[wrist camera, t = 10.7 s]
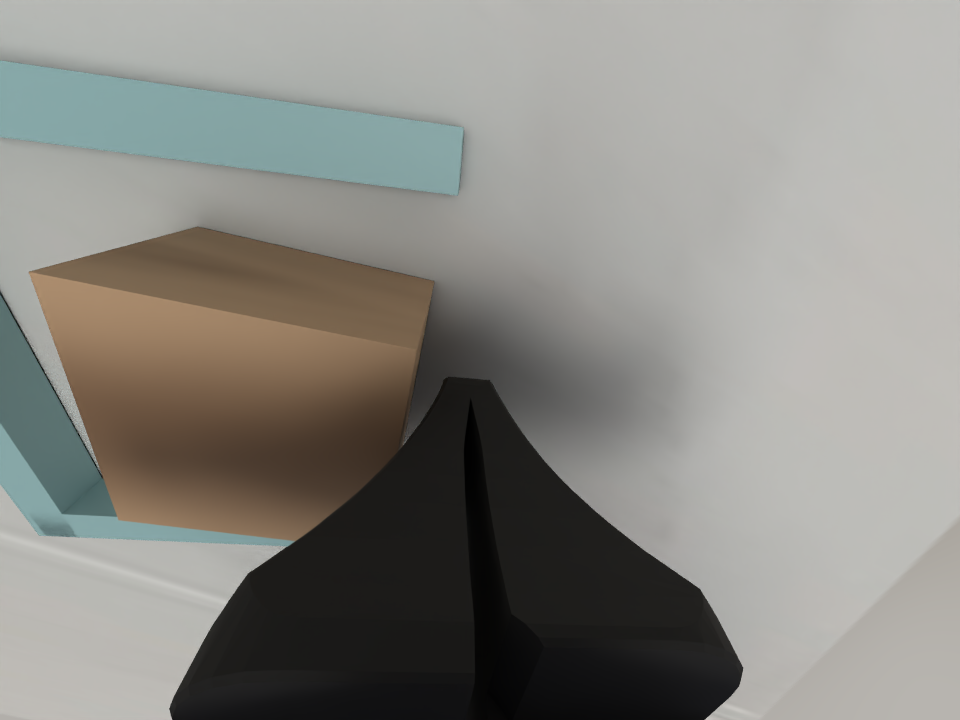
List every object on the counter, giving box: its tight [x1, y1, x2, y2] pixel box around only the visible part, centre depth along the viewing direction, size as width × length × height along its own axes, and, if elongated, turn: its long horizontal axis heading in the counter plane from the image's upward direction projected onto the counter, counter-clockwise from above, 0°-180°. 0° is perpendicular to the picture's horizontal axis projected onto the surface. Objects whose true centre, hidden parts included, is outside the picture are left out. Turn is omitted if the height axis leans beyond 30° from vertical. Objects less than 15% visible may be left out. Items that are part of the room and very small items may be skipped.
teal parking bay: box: [0, 61, 464, 546], centre depth 10 cm, size 13×13×2 cm
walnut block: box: [29, 227, 434, 541], centre depth 9 cm, size 6×6×4 cm
